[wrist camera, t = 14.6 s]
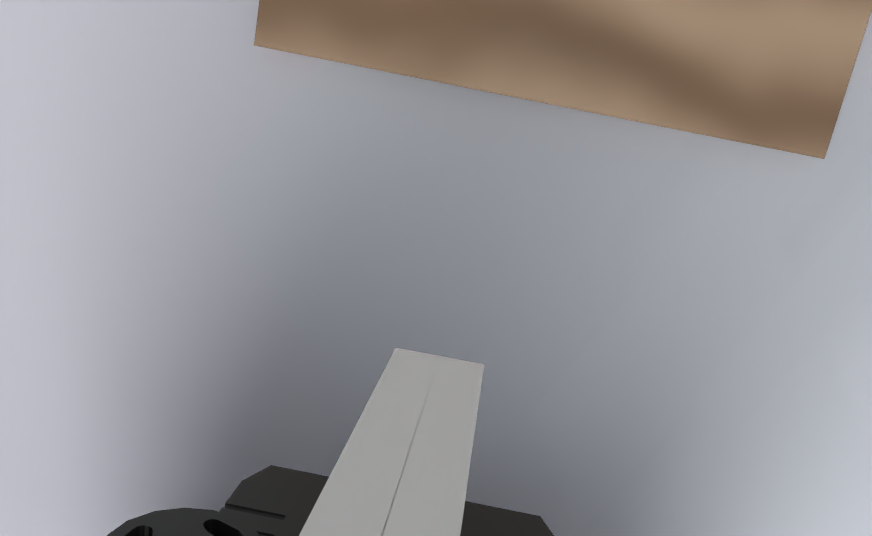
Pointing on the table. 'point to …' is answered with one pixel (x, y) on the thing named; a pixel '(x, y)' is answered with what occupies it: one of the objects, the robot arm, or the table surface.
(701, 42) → the board
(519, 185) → the table surface
